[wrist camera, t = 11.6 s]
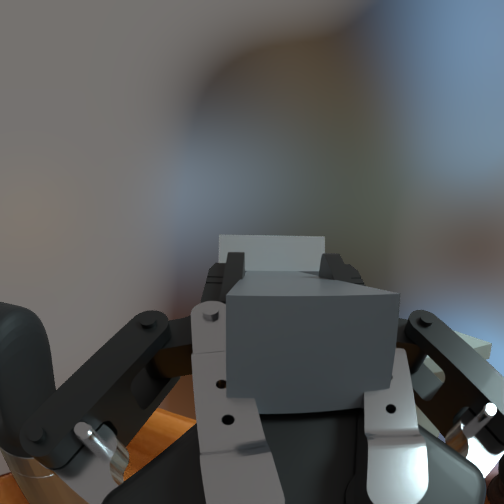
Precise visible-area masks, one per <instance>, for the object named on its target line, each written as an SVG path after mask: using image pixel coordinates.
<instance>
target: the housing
mask: <svg viewBox="0 0 504 504" xmlns="http://www.w3.org/2000/svg"><path fill="white" fill-rule="evenodd" d="M228 252H245V276H244V278H243V279H240V280H239V281H238V282H237V283H236V284H235V285H234V287H233V288H232V289H231V290H230V291H229V292H228V294H227V295H226V397H227V398H255V402H256V405H257V409H258V413H259V414H287V413H309V412H323V411H334V410H344V409H352V408H360V405H361V402H362V398H363V394H364V392H370V391H377V390H383V389H390V383H391V377H392V371H393V364H394V357H395V349H396V340H397V330H398V319H399V304H400V294H399V293H394V292H389V291H385V290H381V289H376V288H371V287H367V286H362V285H357V284H353V283H348V282H344V281H339V280H332V279H328V278H324V277H319V269H320V262H321V256H322V254H323V253H325V237H318V236H267V235H265V236H264V235H219V263H226V260H227V254H228Z"/></svg>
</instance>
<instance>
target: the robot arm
mask: <svg viewBox="0 0 504 504" xmlns="http://www.w3.org/2000/svg"><path fill="white" fill-rule="evenodd" d="M244 276H245V252H228V254H227V260H226V263H215V264H214V265H213V266H212V267H211V268H210V269H209V272H208V276H207V280H206V284H205V287H204V291H203V295H202V299H201V303H200V304H198V305H196V306H195V307H194V308H193V310H192V311H191V315H190V316H188V317H185V318H181V319H176V320H170V321H168V318H167V316H166V315H165V314H164V313H162V312H159V311H145V312H142V313H139V314H138V315H136V316H135V317H134V318H133V319H131V320H130V321H129V322H128V323H127V324H126V325H125V326H124V327H123V328H122V329H121V330H120V331H119V332H117V333H116V334H115V335H114V336H113V337H112V338H111V339H110V340H109V341H108V342H107V343H105V345H103V346H102V347H101V348H100V349H99V350H98V351H97V352H96V353H95V354H94V355H93V356H92V357H91V358H90V359H88V361H86V362H85V363H84V364H83V365H82V366H81V367H80V368H79V369H78V370H77V371H76V372H75V373H74V374H73V375H72V376H71V377H70V378H69V379H68V380H67V381H66V382H65V383H63V384H62V385H61V386H60V387H59V388H58V389H57V390H56V388H55V381H54V374H53V366H52V358H51V352H50V345H49V341H48V337H47V334H46V331H45V328H44V326H43V324H42V322H41V320H40V319H39V318H38V316H37V315H36V314H35V313H34V312H32V311H31V310H29V309H27V308H24V307H21V306H16V305H12V304H7V303H3V302H0V450H1V452H2V454H3V457H4V459H5V461H6V463H7V465H8V467H9V469H10V471H11V473H12V474H13V476H14V478H15V480H16V482H17V484H18V485H19V487H20V489H21V491H22V492H23V494H24V496H25V497H26V499H27V501H28V502H29V504H484V502H485V497H486V482H485V477H486V475H487V474H488V473H489V472H490V470H491V469H492V468H493V467H494V465H495V464H496V463H497V462H498V460H499V459H500V458H501V456H502V455H503V454H504V377H503V376H502V375H501V374H500V373H499V372H498V371H497V370H496V369H495V368H494V367H493V366H492V365H490V364H489V363H488V362H487V361H486V360H485V359H484V358H483V357H482V356H481V355H480V354H479V353H478V352H476V351H475V350H474V349H473V348H472V347H471V346H470V345H469V344H468V343H466V342H465V341H464V340H463V339H462V338H461V337H460V336H459V335H457V334H456V333H455V332H454V331H453V330H452V329H451V328H449V327H448V326H447V325H446V324H445V323H444V322H442V321H441V320H440V319H439V318H437V317H436V316H435V315H434V314H432V313H430V312H428V311H424V310H416V311H413V312H412V313H411V314H410V316H409V319H408V320H406V319H400V318H399V319H398V330H397V340H396V349H395V357H394V364H393V371H392V377H391V383H390V389H383V390H377V391H370V392H364V394H363V398H362V402H361V405H360V408H352V409H344V410H334V411H323V412H309V413H287V414H259V413H258V409H257V405H256V402H255V398H227V397H226V295H227V294H228V292H229V291H230V290H231V289H232V288H233V287H234V285H235V284H236V283H237V282H238V281H239V280H240V279H243V278H244ZM319 277H324V278H328V279H332V280H339V281H344V282H348V283H353V284H357V285H362V286H365V285H364V282H363V280H362V279H361V276H360V274H359V272H358V271H357V270H356V269H355V268H354V267H352V266H351V265H350V264H348V265H346V264H344V262H343V260H342V258H341V256H340V254H332V253H331V254H329V253H323V254H322V256H321V262H320V269H319ZM427 355H428V356H429V357H430V358H431V359H432V360H433V361H434V362H435V363H436V364H437V365H438V366H439V367H440V368H441V369H442V370H443V372H444V374H445V381H444V383H443V382H442V381H441V380H440V379H439V378H438V377H437V376H436V375H435V374H434V373H433V372H432V371H431V370H430V369H429V368H428V367H427V366H426V365H425V364H424V363H423V362H424V360H425V358H426V357H427ZM189 374H192V375H193V388H194V399H195V409H196V420H197V423H196V424H195V425H194V426H192V427H191V428H190V429H189V430H188V431H187V432H186V433H184V434H183V435H182V436H181V437H180V438H179V439H177V440H176V441H175V442H174V443H173V444H171V445H170V446H169V447H168V448H167V449H165V450H164V451H163V452H162V453H160V454H159V455H158V456H157V457H156V458H154V459H153V460H152V461H151V462H149V463H148V464H147V465H145V466H144V467H143V468H142V469H140V470H139V471H138V472H136V473H135V474H134V475H132V476H131V477H130V478H128V479H127V480H126V481H123V474H124V471H125V469H126V467H127V465H128V462H129V453H128V451H127V449H126V446H127V445H128V444H129V442H130V441H131V440H132V439H133V437H134V436H135V435H136V434H137V432H138V431H139V430H140V429H141V427H142V426H143V425H144V424H145V422H146V421H147V420H148V419H149V417H150V416H151V415H152V414H153V412H154V411H155V410H156V409H157V407H158V406H159V405H160V403H161V402H162V401H163V400H164V398H165V397H166V396H167V394H168V393H169V392H170V391H171V389H172V388H173V387H174V386H175V384H176V383H177V382H178V380H179V379H180V377H181V376H185V375H189ZM415 404H416V405H417V407H418V408H419V409H420V410H421V411H422V412H423V413H424V415H425V416H426V417H427V418H428V419H429V420H430V421H431V423H432V424H433V425H434V426H435V427H436V428H437V429H438V431H439V432H440V433H441V434H442V435H443V436H444V438H445V442H446V443H444V442H443V441H441V440H440V439H439V438H437V437H436V436H434V435H433V434H432V433H430V432H429V431H428V430H426V429H425V428H423V427H422V426H421V425H419V424H418V422H417V414H416V407H415Z"/></svg>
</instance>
